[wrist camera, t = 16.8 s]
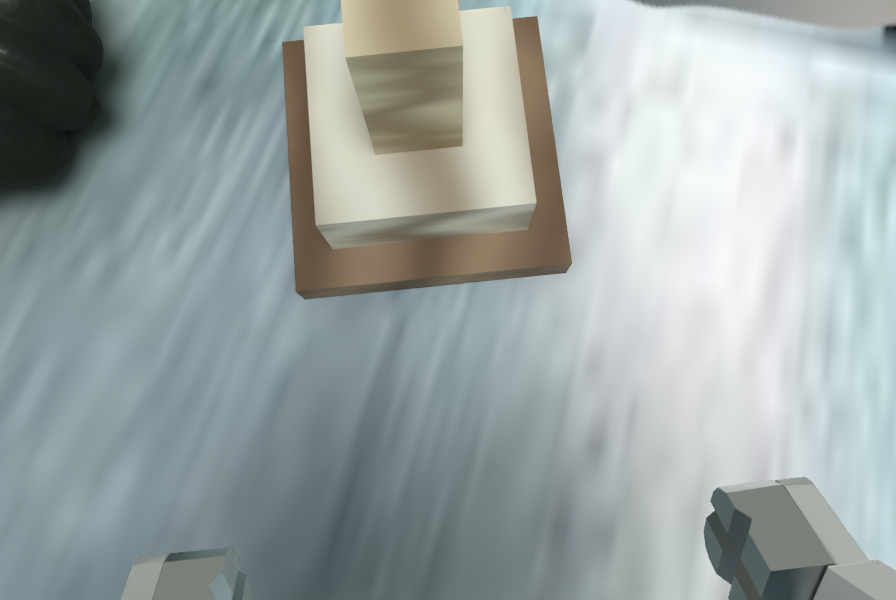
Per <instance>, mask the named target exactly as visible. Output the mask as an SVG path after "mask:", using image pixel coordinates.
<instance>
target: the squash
mask: <svg viewBox="0 0 896 600" xmlns="http://www.w3.org/2000/svg"><path fill="white" fill-rule="evenodd" d="M91 24H92V15H91V8H90V3H89V0H0V185H33V184H37V183H40V182H43V181H46V180H48V179H50V178H52V177H53V176H54V175H55V174H56V173H57V172H58V171H59V170H60V169H61V168H62V167H63V165H64V163H65V160H66V156H67V152H68V147H69V140H68V137H67V134H66V131H68V130H74V129H80V128H83V127H86V126H87V125H89V124H91V123H93V121H94V120H95V119H96V118H97V116H98V114H99V112H100V110H101V107H100V102H99V99H98V96H97V93H96V91H95V89H94V88H93V86H92V84H91V83H90V82H89V81H91V80H92V79H93V78H94V77H95V75H96V74H97V72H98V71H99V69H100V67H101V65H102V60H103V47H102V43H101V40H100V38H99V36H98V34H97V33H96V31H95V30H94V29H93V27H92V26H91Z"/></svg>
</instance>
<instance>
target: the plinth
mask: <svg viewBox="0 0 896 600" xmlns="http://www.w3.org/2000/svg"><path fill="white" fill-rule="evenodd" d="M459 14H460V23H461V32H462V40H463V144H462V146H461V147H451V148H441V149H431V150H422V151H412V152H402V153H392V154H382V155H376V154H375V151H374V148H373V145H372V141H371V138H370V135H369V132H368V129H367V125H366V122H365V119H364V116H363V113H362V109H361V106H360V103H359V100H358V97H357V93H356V90H355V87H354V84H353V81H352V77H351V74H350V71H349V68H348V65H347V61H346V58H345V47H344V34H343V23H335V24H325V25H315V26H305V27H303V31H304V40H298V41H288V42H282V46H283V64H284V82H285V100H286V118H287V137H288V155H289V173H290V191H291V209H292V227H293V245H294V264H295V282H296V292H297V293H299V294H300V295H301V296H302V297H303V298H305V299H312V298H321V297H331V296H341V295H351V294H361V293H371V292H380V291H390V290H400V289H410V288H420V287H430V286H440V285H449V284H459V283H469V282H479V281H489V280H499V279H509V278H518V277H528V276H538V275H548V274H558V273H566V271H567V270H568V268H569V267H570V266H571V264H572V260H571V253H570V246H569V239H568V232H567V225H566V218H565V211H564V204H563V197H562V189H561V182H560V175H559V168H558V161H557V154H556V147H555V140H554V133H553V126H552V119H551V111H550V104H549V97H548V90H547V83H546V76H545V69H544V62H543V55H542V48H541V41H540V33H539V26H538V19H537V16H535V17H525V18H515V19H512V13H511V6H503V7H493V8H483V9H473V10H463V11H459Z"/></svg>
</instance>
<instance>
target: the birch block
mask: <svg viewBox="0 0 896 600" xmlns="http://www.w3.org/2000/svg"><path fill="white" fill-rule="evenodd" d="M341 8H342V21H343V34H344V47H345V58H346V61H347V65H348V68H349V71H350V74H351V77H352V81H353V84H354V87H355V90H356V93H357V97H358V100H359V103H360V106H361V109H362V113H363V116H364V119H365V122H366V125H367V129H368V132H369V135H370V138H371V141H372V145H373V148H374V151H375V154H376V155H382V154H392V153H402V152H412V151H422V150H431V149H441V148H451V147H461V146H462V144H463V40H462V32H461V23H460V14H459V6H458V0H341Z"/></svg>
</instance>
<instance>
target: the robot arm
mask: <svg viewBox="0 0 896 600" xmlns="http://www.w3.org/2000/svg"><path fill="white" fill-rule="evenodd" d="M711 503H712V505H713V507H714V509H715V511H714V512H713V513H712V514H711V515H709V516H708V517H707V518H706V522H705V527H704V537H705V546H706V550H707V553H708V556H709V559H710V561H711V563H712V566H713V568H714V570H715V572H716V574H717V575H719V576H720V577H722V578H723V579H724V580H726V581H727V582H728V583H730V584H731V588H730V592H729V597H728V599H729V600H896V571H895V570H894V569H892V568H891V567H889V566H887V565H886V564H884V563H882V562H881V561H879V560H870V561H869V560H868V558H867V557H866V555H865V554H864V553H863V551H862V550H861V548H860V547H859V546H858V544H857V543H856V542H855V540H854V539H853V537H852V536H851V535H850V533H849V532H848V531H847V529H846V528H845V526H844V525H843V524H842V522H841V521H840V519H839V518H838V517H837V515H836V514H835V513H834V511H833V510H832V508H831V507H830V506H829V504H828V503H827V502H826V500H825V499H824V497H823V496H822V495H821V493H820V492H819V490H818V489H817V488H816V486H815V485H814V484H813V482H812V481H810V480H809V479H807V478H806V477H797V478H790V479H783V480H776V481H773V480H768V481H760V482H753V483H746V484H739V485H731V486H724V487H718V488H717V489H716V490H714V491H713V494H712V498H711ZM239 561H240V558H239V556H238V554H237V552H236V549H235V547H229V548H219V549H209V550H199V551H189V552H180V553H168V554H160V555H151V556H143V557H139V558H138V559H137V560H136V562H135V563H134V565H133V566H132V567H131V570H130V572H129V575H128V578H127V581H126V584H125V587H124V590H123V592H122V595H121V598H120V600H252V593H251V587H250V583H249V580H248V577H247V575H246V574H244V573H242V572H241V571H239V570H238V566H239Z"/></svg>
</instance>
